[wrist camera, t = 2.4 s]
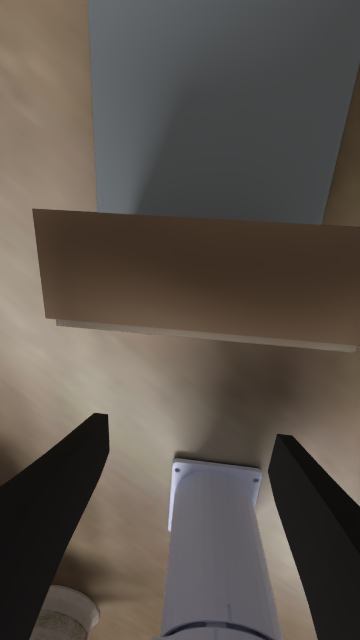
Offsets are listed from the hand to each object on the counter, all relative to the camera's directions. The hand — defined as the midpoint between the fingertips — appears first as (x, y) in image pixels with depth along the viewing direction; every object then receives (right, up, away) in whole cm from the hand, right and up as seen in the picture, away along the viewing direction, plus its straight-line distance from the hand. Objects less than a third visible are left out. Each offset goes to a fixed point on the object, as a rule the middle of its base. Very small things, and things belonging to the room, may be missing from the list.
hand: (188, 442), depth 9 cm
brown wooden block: (+1, +9, +6) cm, 11 cm away
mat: (+2, +16, +3) cm, 17 cm away
